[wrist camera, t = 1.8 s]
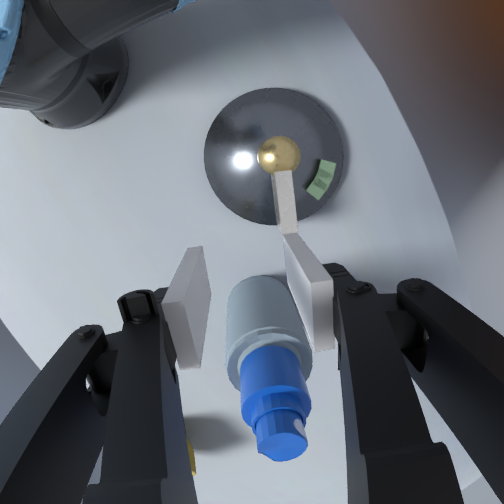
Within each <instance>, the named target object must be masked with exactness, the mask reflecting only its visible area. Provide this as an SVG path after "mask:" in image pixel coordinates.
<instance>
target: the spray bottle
mask: <svg viewBox="0 0 504 504" xmlns="http://www.w3.org/2000/svg"><path fill="white" fill-rule="evenodd" d="M312 362H313V361H312V350H311V348H310V345H309V342H308V340H307V337H306V334H305V332H304V329H303V326H302V324H301V321H300V318H299V316H298V313H297V310H296V308H295V305H294V303H293V300H292V297H291V295H290V293H289V291H288V289H287V287H285V286H284V285H283V284H282V283H281V282H280V281H278V280H276V279H274V278H272V277H268V276H254V277H249V278H247V279H245V280H243V281H241V282H240V283H239V284H238V285H237V286H236V287H234V288H233V290H232V292H231V294H230V296H229V299H228V305H227V328H226V354H225V366H226V370H227V374H228V376H229V380H230V381H231V383H232V384H233V385H234V387H235V388H236V389H237V390H239V391H240V392H241V413H242V417H243V420H244V421H245V422H246V423H247V424H248V425H249V426H250V427H252V430H253V433H254V434H255V435H256V437H257V449H258V453H262V454H264V455H266V456H267V457H269V458H270V459H272V460H273V461H280V462H282V461H288V460H291V459H294V458H296V457H298V456H300V455H301V454H302V453H303V452H304V451H305V450H306V448H307V446H308V443H307V438H306V434H305V430H304V427H305V425H306V418H307V417H308V416H309V413H310V411H311V399H310V396H309V392H308V389H307V386H306V380H307V379H308V378H309V375H310V372H311V369H312Z"/></svg>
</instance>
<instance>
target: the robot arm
mask: <svg viewBox="0 0 504 504" xmlns="http://www.w3.org/2000/svg"><path fill="white" fill-rule="evenodd" d="M194 1H197V0H0V107H3V108H13V109H23V110H29V111H30V112H31V113H32V114H33V115H34V116H35V117H36V118H37V119H38V120H40V121H41V122H42V123H44V124H46V125H48V126H50V127H54V128H60V129H76V128H80V127H83V126H86V125H88V124H90V123H92V122H94V121H95V120H97V119H98V118H100V117H101V116H102V115H103V114H105V113H106V112H107V111H108V110H109V109H110V107H111V106H112V105H113V104H114V102H115V101H116V100H117V98H118V96H119V95H120V93H121V91H122V89H123V87H124V84H125V81H126V77H127V73H128V55H127V51H126V48H125V45H124V43H123V42H122V40H121V39H120V38H119V36H121V35H123V34H125V33H127V32H129V31H131V30H133V29H135V28H137V27H139V26H141V25H143V24H145V23H147V22H149V21H151V20H154V19H156V18H158V17H160V16H163V15H165V14H167V13H170V12H172V13H174V12H176V11H178V10H180V9H181V7H183V6H185V5H187V4H189V3H192V2H194ZM283 244H284V253H285V262H286V272H287V281H288V286H289V288H290V291H291V293H292V296H293V298H294V301H295V303H296V306H297V308H298V311H299V314H300V316H301V319H302V321H303V324H304V326H305V329H306V332H307V334H308V337H309V339H310V342H311V344H312V347H313V350H314V352H319V351H325V350H330V349H335V337H336V339H337V341H338V370H340V377H341V387H342V399H343V411H344V425H345V440H346V459H347V484H348V504H464V502H463V498H462V494H461V490H460V487H459V483H458V479H457V476H456V472H455V469H454V466H453V462H452V459H451V456H450V453H449V451H448V449H447V446H446V445H445V444H444V443H443V442H438V443H434V442H433V441H432V439H431V437H430V433H429V430H428V427H427V424H426V421H425V417H424V414H423V411H422V408H421V405H420V402H419V399H418V396H417V393H416V390H415V388H414V385H413V382H412V379H413V380H414V381H415V382H416V384H417V385H418V386H419V388H420V389H421V390H422V392H423V393H424V394H425V396H426V397H427V398H428V400H429V401H430V402H431V404H432V405H433V406H434V408H435V409H436V410H437V412H438V413H439V414H440V416H441V417H442V418H443V420H444V421H445V422H446V424H447V425H448V427H449V428H450V429H451V431H452V432H453V433H454V435H455V436H456V438H457V439H458V440H459V442H460V443H461V445H462V446H463V447H464V449H465V450H466V452H467V453H468V454H469V456H470V457H471V459H472V460H473V462H474V463H475V465H476V466H477V467H478V469H479V470H480V472H481V473H482V475H483V476H484V477H485V479H486V481H487V482H488V483H489V485H490V486H491V488H492V489H493V491H494V492H495V494H496V495H497V497H498V498H499V499H500V501H501V502H502V504H504V337H503V336H502V335H501V334H499V333H498V332H497V331H495V330H494V329H493V328H492V327H490V326H489V325H487V324H486V323H485V322H484V321H483V320H481V319H480V318H479V317H477V316H476V315H474V314H473V313H472V312H471V311H469V310H468V309H467V308H465V307H464V306H462V305H461V304H460V303H458V302H457V301H456V300H454V299H453V298H451V297H450V296H449V295H447V294H446V293H444V292H443V291H442V290H440V289H439V288H437V287H436V286H434V285H433V284H432V283H430V282H428V281H426V280H421V279H419V278H416V279H415V278H411V279H408V280H404V281H401V282H400V283H399V284H398V286H397V293H394V294H378V293H377V291H376V289H375V287H374V286H373V285H372V284H370V283H367V282H362V281H356V280H355V278H354V277H353V276H352V275H350V273H349V272H348V271H347V270H346V269H345V268H344V266H342V265H340V264H337V263H329V264H323V265H322V264H321V263H320V262H319V260H318V259H317V258H316V256H315V255H314V254H313V252H312V251H311V250H310V249H309V247H308V246H307V245H306V243H305V242H304V241H303V240H302V238H301V237H300V236H299V234H298V233H290V234H283ZM210 300H211V290H210V285H209V279H208V274H207V269H206V264H205V258H204V253H203V247H202V246H198V247H192V248H188V249H187V251H186V253H185V255H184V257H183V259H182V261H181V263H180V265H179V267H178V269H177V271H176V273H175V275H174V278H173V280H172V282H171V284H170V286H169V287H166V288H159V289H157V290H156V291H155V292H153V291H151V290H136V291H133V292H129V293H127V294H125V295H123V296H121V297H120V298H119V299H118V300H117V303H118V306H119V309H120V312H121V316H122V319H123V322H124V324H123V328H122V331H119V332H116V333H112V334H108V335H105V333H104V330H103V328H102V326H100V325H85V326H82V327H80V328H79V329H77V330H76V331H74V332H73V333H72V334H71V335H70V336H69V337H68V339H67V340H66V341H65V342H64V343H63V345H62V346H61V347H60V348H59V349H58V351H57V352H56V353H55V354H54V355H53V357H52V358H51V359H50V360H49V362H48V363H47V364H46V365H45V367H44V368H43V369H42V370H41V372H40V373H39V374H38V376H37V377H36V378H35V379H34V381H33V382H32V383H31V385H30V386H29V387H28V388H27V390H26V391H25V392H24V394H23V395H22V396H21V398H20V399H19V400H18V402H17V403H16V404H15V406H14V407H13V408H12V410H11V411H10V412H9V414H8V415H7V417H6V418H5V419H4V421H3V422H2V423H1V425H0V504H80V503H81V500H82V498H83V504H198V501H197V496H196V491H195V486H194V481H193V475H192V470H191V464H190V458H189V452H188V446H187V440H186V433H185V427H184V420H183V412H182V405H181V397H180V389H179V381H178V375H177V371H176V368H175V362H176V358H177V361H178V364H179V368H180V370H184V369H196V368H200V367H201V360H202V353H203V346H204V339H205V333H206V326H207V320H208V313H209V307H210ZM428 338H429V339H428ZM411 377H412V379H411ZM86 379H87V381H88V383H89V385H90V386H89V388H88V389H87V388H86ZM103 445H104V446H103ZM102 447H103V456H102V466H101V478H100V483H99V484H90V485H88V482H89V479H90V477H91V474H92V472H93V469H94V467H95V464H96V462H97V459H98V457H99V454H100V452H101V449H102ZM87 485H88V486H87ZM83 495H84V496H83Z"/></svg>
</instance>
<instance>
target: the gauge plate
mask: <svg viewBox="0 0 504 504" xmlns="http://www.w3.org/2000/svg"><path fill="white" fill-rule="evenodd" d="M275 136H285V137H288V138H290V139H291V140H293V141H294V142H295V143H296V144H297V146H298V148H299V150H300V162H299V165H298V167H297V168H296V169H295V171H293V172H292V180H293V188H294V197H295V206H296V216H297V221H299V220H302V219H304V218H306V217H308V216H310V215H312V214H313V213H314V212H316V211H317V210H318V209H320V208H321V207H322V206H323V205H324V204H325V203H326V202H327V200H328V199H329V198H330V197H331V195H332V193H333V192H334V190H335V188H336V186H337V184H338V182H339V179H340V176H341V172H342V166H343V148H342V143H341V138H340V136H339V133H338V130H337V128H336V126H335V124H334V122H333V121H332V119H331V118H330V116H329V115H328V114H327V113H326V112H325V110H324V109H323V108H322V107H321V106H319V105H318V104H317V103H316V102H314V101H313V100H311V99H310V98H308V97H307V96H304V95H302V94H300V93H298V92H295V91H292V90H287V89H282V88H264V89H259V90H254V91H251V92H248V93H245V94H243V95H241V96H239V97H238V98H236V99H234V100H233V101H232V102H230V103H229V104H228V105H227V106H226V107H225V108H223V109H222V111H221V112H220V113H219V114H218V115H217V117H216V118H215V120H214V121H213V123H212V125H211V127H210V129H209V132H208V134H207V138H206V141H205V148H204V164H205V170H206V174H207V178H208V180H209V183H210V185H211V187H212V189H213V191H214V192H215V194H216V195H217V197H218V198H219V199H220V200H221V202H222V203H223V204H224V205H225V206H226V207H227V208H229V209H230V210H231V211H232V212H234V213H235V214H237V215H239V216H240V217H242V218H244V219H247V220H249V221H251V222H255V223H259V224H265V225H277V221H276V213H275V205H274V197H273V189H272V181H271V174H270V173H268V172H266V171H264V170H263V169H262V168H261V166H260V165H259V163H258V159H257V152H258V149H259V147H260V146H261V144H262V143H263V142H264V141H266V140H268V139H270V138H272V137H275Z"/></svg>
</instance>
